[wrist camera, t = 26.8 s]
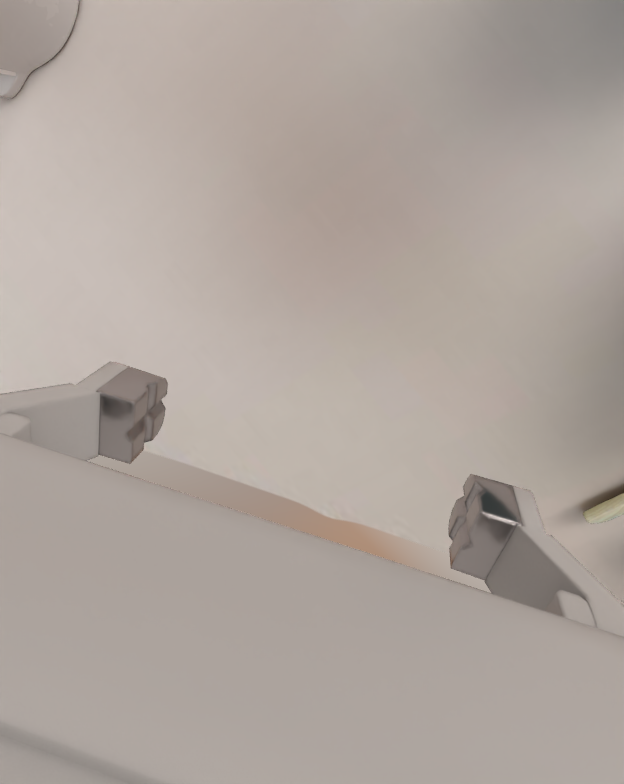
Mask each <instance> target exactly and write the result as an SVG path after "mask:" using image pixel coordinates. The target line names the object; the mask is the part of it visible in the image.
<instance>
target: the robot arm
mask: <svg viewBox="0 0 624 784" xmlns="http://www.w3.org/2000/svg"><path fill="white" fill-rule="evenodd" d="M78 6H79V0H0V97H4V98H13V97H14V96H15V95H16V94H17V93H18V92H19V91H20V89H21V87H22V86H23V84H24V82H25V80H26V78H27V77H28V75H29V74H30V73H31V72H32V71H33V70H35V69H36V68H38V67H40V66H42V65H43V64H45V63H47V62H48V61H49V60H51V59H52V58H53V57H54V56H55V55H56V54H57V53H58V52H59V51H60V50H61V48H62V47H63V46H64V44H65V42H66V41H67V39H68V37H69V35H70V33H71V31H72V28H73V26H74V23H75V19H76V16H77V11H78ZM167 386H168V382H167V380H166V378H163V377H160V376H157V375H154V374H151V373H148V372H145V371H142V370H139V369H136V368H133V367H130V366H127V365H123V364H120V363H117V362H109V363H107V364H106V365H104V366H103V367H101V368H100V369H98V370H97V371H95V372H94V373H92V374H91V375H89V376H88V377H87V378H85V379H84V380H82V381H81V382H79V383H78V384H76V385H74V384H70V383H69V384H62V385H56V386H49V387H43V388H36V389H30V390H23V391H17V392H10V393H4V394H0V784H624V605H623V604H622V603H621V602H620V601H619V600H618V599H617V598H616V597H615V596H614V595H613V594H612V593H611V592H610V591H609V590H608V589H607V588H606V587H605V586H604V585H603V584H601V583H600V582H599V581H598V580H597V579H596V578H595V577H594V576H593V575H592V574H591V573H590V572H589V571H588V570H587V569H586V568H585V567H584V566H583V565H582V564H581V563H580V562H579V561H578V560H577V559H576V558H575V557H574V556H573V555H572V554H571V553H569V552H568V551H567V550H566V549H565V548H564V547H563V546H562V545H561V544H560V543H559V542H558V541H557V540H556V539H555V538H554V537H553V536H552V535H549V534H546V532H545V529H544V526H543V523H542V520H541V516H540V513H539V510H538V507H537V504H536V501H535V498H534V495H533V493H532V492H531V491H530V490H527V489H523V488H519V487H516V486H512V485H508V484H505V483H501V482H498V481H494V480H491V479H487V478H484V477H480V476H477V475H473V474H470V476H469V477H468V478H467V480H466V482H465V484H464V486H463V490H464V496H463V497H461V498H460V499H458V500H456V503H455V505H454V507H453V509H452V512H451V516H450V520H449V528H448V530H449V537H450V538H451V539H452V540H453V542H452V544H451V546H450V548H449V549H450V562H451V569H454V570H457V571H460V572H463V573H466V574H469V575H471V576H474V577H477V578H480V579H482V580H485V583H486V585H487V586H488V588H489V590H490V591H491V593H489V592H486V591H483V590H479V589H477V588H474V587H471V586H467V585H464V584H461V583H458V582H455V581H452V580H449V579H446V578H443V577H440V576H437V575H434V574H431V573H428V572H425V571H421V570H418V569H415V568H412V567H409V566H406V565H403V564H400V563H397V562H394V561H391V560H388V559H385V558H382V557H379V556H376V555H373V554H370V553H367V552H363V551H360V550H357V549H354V548H351V547H348V546H345V545H342V544H339V543H336V542H333V541H330V540H327V539H324V538H321V537H318V536H314V535H311V534H308V533H305V532H302V531H299V530H296V529H293V528H290V527H287V526H284V525H281V524H278V523H275V522H272V521H269V520H266V519H263V518H259V517H256V516H253V515H250V514H247V513H244V512H241V511H238V510H235V509H232V508H229V507H226V506H223V505H220V504H217V503H214V502H210V501H207V500H204V499H201V498H198V497H195V496H192V495H189V494H186V493H182V492H180V491H177V490H174V489H171V488H168V487H165V486H161V485H159V484H155V483H152V482H149V481H146V480H143V479H140V478H137V477H134V476H131V475H128V474H125V473H122V472H119V471H115V470H113V469H109V468H106V467H103V466H100V465H97V464H94V463H91V462H88V461H87V460H90V459H92V458H95V457H97V456H98V455H102V456H105V457H108V458H112V459H116V460H119V461H122V462H125V463H129V464H130V463H131V462H132V461H133V460H134V459H135V458H136V457H137V456H138V455H139V454H140V453H141V452H142V451H143V449H144V443H145V442H148V441H152V440H153V439H154V438H155V436H156V435H157V434H158V432H159V430H160V428H161V426H162V424H163V420H164V416H165V406H164V405H163V403H162V401H161V399H162V398H163V397H164V396H165V395H166V394H167Z"/></svg>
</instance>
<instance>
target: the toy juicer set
mask: <svg viewBox="0 0 624 784" xmlns="http://www.w3.org/2000/svg"><path fill="white" fill-rule="evenodd" d="M623 514H624V493H623V494H621V495H618V496H616V497H614V498H612V499H610V500H608V501H605V502H603V503H601V504H599V505H597V506H595V507H593V508H591V509H589V510H587V511H585V512H583V515H584V517H585V519H586V521H587V522H588V523H591V524H594V523H602V522H606V521H609V520H612V519H614V518H616V517H619V516H621V515H623Z"/></svg>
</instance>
